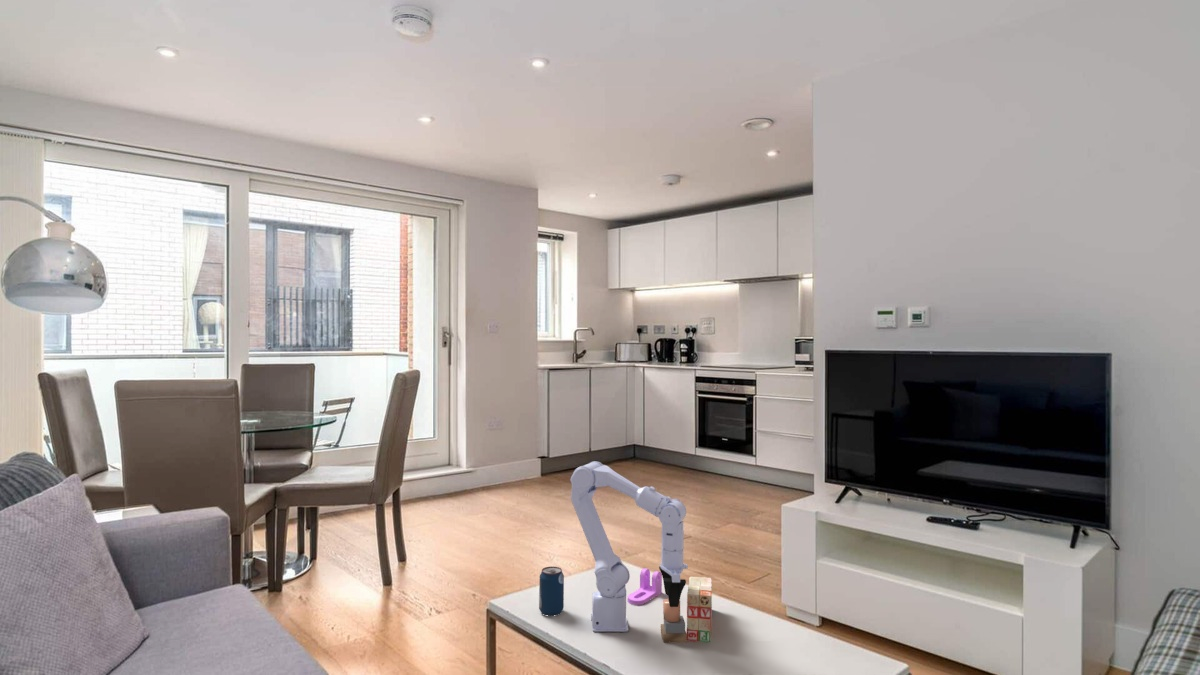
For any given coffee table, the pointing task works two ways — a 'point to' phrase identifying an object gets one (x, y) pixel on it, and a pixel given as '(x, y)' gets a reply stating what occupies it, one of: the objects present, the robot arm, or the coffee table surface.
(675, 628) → the tower top
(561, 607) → the soda can
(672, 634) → the tower base
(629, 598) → the bracket
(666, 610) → the terracotta cylinder
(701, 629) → the stack of blocks
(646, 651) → the coffee table surface
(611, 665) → the coffee table surface
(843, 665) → the coffee table surface
